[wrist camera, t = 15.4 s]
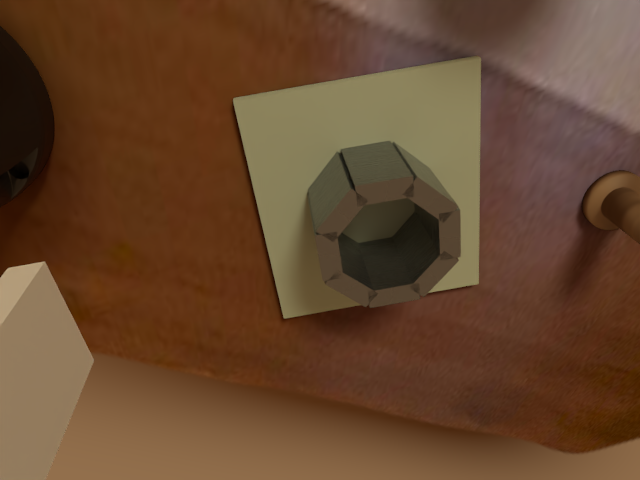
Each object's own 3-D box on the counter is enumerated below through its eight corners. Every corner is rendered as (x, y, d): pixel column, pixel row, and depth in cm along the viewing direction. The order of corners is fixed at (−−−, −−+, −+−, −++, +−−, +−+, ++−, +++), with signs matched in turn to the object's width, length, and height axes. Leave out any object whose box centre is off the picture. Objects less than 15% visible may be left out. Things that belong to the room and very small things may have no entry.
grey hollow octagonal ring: (319, 264, 44) (328, 315, 38) (300, 156, 39) (307, 194, 33) (433, 244, 44) (461, 291, 38) (429, 133, 39) (460, 167, 33)
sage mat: (283, 313, 47) (283, 318, 47) (233, 98, 37) (233, 100, 37) (475, 278, 48) (478, 283, 47) (476, 55, 38) (481, 57, 37)
